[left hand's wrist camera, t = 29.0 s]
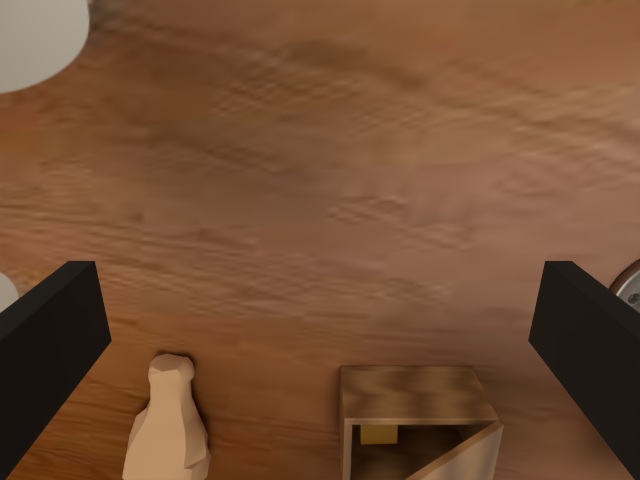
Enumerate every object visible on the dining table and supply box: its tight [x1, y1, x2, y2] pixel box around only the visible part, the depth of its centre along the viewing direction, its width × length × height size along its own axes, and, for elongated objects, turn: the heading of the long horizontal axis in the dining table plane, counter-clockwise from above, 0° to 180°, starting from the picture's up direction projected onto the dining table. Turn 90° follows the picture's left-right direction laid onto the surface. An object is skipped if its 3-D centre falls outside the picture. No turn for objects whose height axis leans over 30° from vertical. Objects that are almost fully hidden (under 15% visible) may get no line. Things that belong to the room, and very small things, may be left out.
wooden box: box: [339, 366, 499, 480], centre depth 53 cm, size 17×11×9 cm, turn 90°
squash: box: [123, 353, 211, 480], centre depth 55 cm, size 11×20×9 cm, turn 177°
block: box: [359, 425, 398, 444], centre depth 55 cm, size 4×4×5 cm
